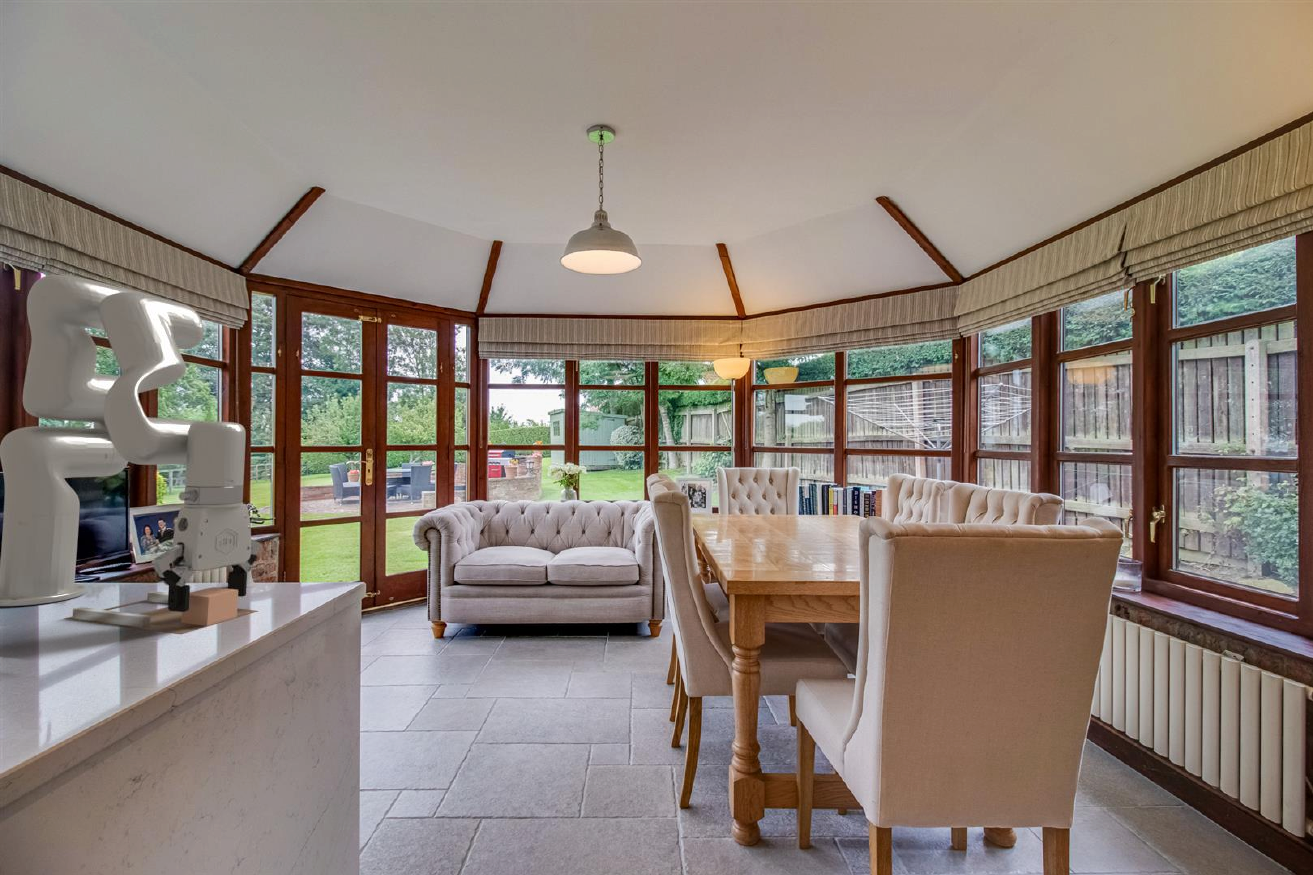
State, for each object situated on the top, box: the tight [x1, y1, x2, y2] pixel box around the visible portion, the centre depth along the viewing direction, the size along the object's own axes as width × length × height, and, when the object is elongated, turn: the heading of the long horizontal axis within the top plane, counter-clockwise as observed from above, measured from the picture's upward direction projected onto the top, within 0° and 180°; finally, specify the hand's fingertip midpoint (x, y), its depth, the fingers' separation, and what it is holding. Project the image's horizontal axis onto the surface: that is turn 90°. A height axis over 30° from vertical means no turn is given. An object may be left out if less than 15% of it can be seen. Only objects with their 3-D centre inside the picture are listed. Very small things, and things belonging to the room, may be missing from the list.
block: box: [181, 586, 239, 627], centre depth 92 cm, size 5×5×4 cm
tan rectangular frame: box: [63, 590, 259, 635], centre depth 94 cm, size 23×13×3 cm, turn 78°
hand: (209, 602), depth 92 cm, fingers open, 9 cm apart
